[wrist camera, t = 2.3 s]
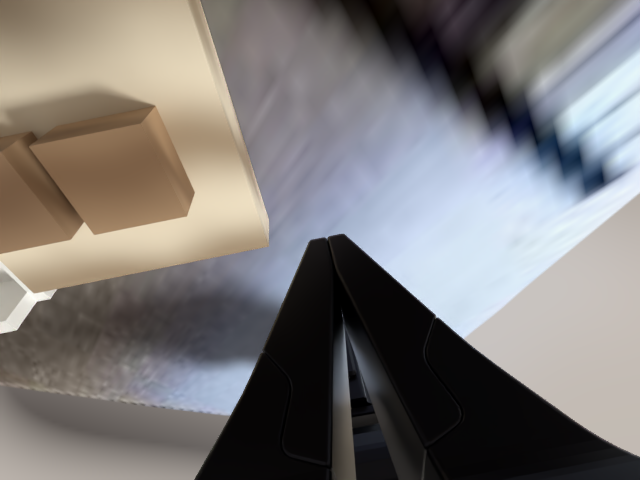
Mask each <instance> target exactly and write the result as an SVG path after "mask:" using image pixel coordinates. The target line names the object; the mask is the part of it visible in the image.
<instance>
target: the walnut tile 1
mask: <svg viewBox="0 0 640 480" xmlns="http://www.w3.org/2000/svg"><path fill="white" fill-rule="evenodd" d="M37 140H38V139H37V138H36V136H35V135H34V134H33V132H32V131H30V132H25V133H20V134H15V135H10V136H5V137H0V254H3V253H8V252H13V251H18V250H23V249H28V248H33V247H38V246H43V245H48V244H53V243H58V242H63V241H68V240H71V239H72V238H73V237H74V235H75V234H76V232H77V231H78V230H79V228H80V227H81V226H82V224H83V223H84V221H83V219H82V218H81V217H80V215H79V214H78V212H77V211H76V210H75V208H74V207H73V206H72V204H71V203H70V202H69V200H68V199H67V198H66V196H65V195H64V193H63V192H62V191H61V189H60V188H59V187H58V185H57V184H56V183H55V181H54V180H53V179H52V177H51V176H50V175H49V173H48V172H47V170H46V169H45V168H44V166H43V165H42V164H41V162H40V161H39V160H38V158H37V157H36V156H35V154H34V153H33V152H32V150H31V149H30V147H29V146H30V145H31V144H32V143H34V142H35V141H37Z"/></svg>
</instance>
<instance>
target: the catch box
mask: <svg viewBox="0 0 640 480" xmlns="http://www.w3.org/2000/svg"><path fill="white" fill-rule="evenodd" d="M56 290H57V289H55V290H50V291H45V292H40V293H35V294H34V293H33V292H32V291H31V290H30V289H29V288H28V287H27V286H26V285H24V284H23V283H22V282H21V281H20V280H19V279H18V278H17V277H16V276H15V275H14V274H13V273H12V272H11V271H10V270H9V269H8V268H7V267H6V266H5V265H4V264H3V263H2V262H1V261H0V334H1V333H6V332H11V331H16V330H17V329H18V328H19V326H20V325H21V323H22V322H23V321H24V319H25V318H26V316H27V315H28V313H29V312H30V311H31V309H32V308H33V306H34V305H35V304H36V302H37V301H42V300H47V299H51V297H52V296H53V294H54V293H55V291H56Z"/></svg>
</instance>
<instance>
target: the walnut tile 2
mask: <svg viewBox="0 0 640 480" xmlns="http://www.w3.org/2000/svg"><path fill="white" fill-rule="evenodd" d="M29 147H30V149H31V150H32V152H33V153H34V154H35V156H36V157H37V158H38V160H39V161H40V162H41V164H42V165H43V166H44V168H45V169H46V170H47V172H48V173H49V175H50V176H51V177H52V179H53V180H54V181H55V183H56V184H57V185H58V187H59V188H60V189H61V191H62V192H63V193H64V195H65V196H66V198H67V199H68V200H69V202H70V203H71V204H72V206H73V207H74V208H75V210H76V211H77V212H78V214H79V215H80V217H81V218H82V219H83V221H84V222H85V223H86V225H87V226H88V227H89V229H90V230H91V231H92V233H93V234H94V235H97V234H102V233H107V232H112V231H117V230H122V229H127V228H132V227H137V226H142V225H147V224H152V223H157V222H162V221H167V220H172V219H177V218H182V217H187V215H188V212H189V209H190V206H191V203H192V200H193V197H194V194H195V191H194V189H193V187H192V185H191V182H190V180H189V178H188V176H187V174H186V171H185V169H184V167H183V165H182V163H181V160H180V158H179V156H178V154H177V152H176V149H175V147H174V145H173V143H172V141H171V138H170V136H169V134H168V132H167V130H166V127H165V125H164V123H163V121H162V119H161V116H160V114H159V112H158V110H157V108H156V106H152V107H147V108H143V109H138V110H133V111H128V112H123V113H118V114H113V115H108V116H103V117H98V118H93V119H89V120H84V121H79V122H74V123H69V124H64V125H59V126H56V127H54V128H53V129H52V130H50V131H49V132H48V133H46V134H45V135H43V136H42V137H41V138H39V139H38V140H37V141H35V142H34V143H32V144H31V145H30V146H29Z"/></svg>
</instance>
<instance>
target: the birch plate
mask: <svg viewBox="0 0 640 480" xmlns="http://www.w3.org/2000/svg"><path fill="white" fill-rule="evenodd" d="M152 106H156V108H157V110H158V112H159V114H160V116H161V119H162V121H163V123H164V125H165V127H166V130H167V132H168V134H169V136H170V138H171V141H172V143H173V145H174V147H175V149H176V152H177V154H178V156H179V158H180V160H181V163H182V165H183V167H184V169H185V171H186V174H187V176H188V178H189V180H190V182H191V185H192V187H193V189H194V191H195V194H194V197H193V200H192V203H191V206H190V209H189V212H188V215H187V217H182V218H177V219H172V220H167V221H162V222H157V223H152V224H147V225H142V226H137V227H132V228H127V229H122V230H117V231H112V232H107V233H102V234H97V235H94V234H93V233H92V231H91V230H90V229H89V227H88V226H87V225H86V223H85V222H84V223H83V224H82V226H81V227H80V228H79V230H78V231H77V232H76V234H75V235H74V237H73V238H72V239H71V240H68V241H63V242H58V243H53V244H48V245H43V246H38V247H33V248H28V249H23V250H18V251H13V252H8V253H3V254H0V261H1V262H2V263H3V264H4V265H5V266H6V267H7V268H8V269H9V270H10V271H11V272H12V273H13V274H14V275H15V276H16V277H17V278H18V279H19V280H20V281H21V282H22V283H23V284H24V285H26V286H27V287H28V288H29V289H30V290H31V291H32V292H33V293H34V294H35V293H40V292H45V291H50V290H55V289H60V288H64V287H69V286H74V285H79V284H84V283H89V282H94V281H99V280H104V279H109V278H114V277H119V276H124V275H129V274H134V273H139V272H144V271H149V270H154V269H159V268H164V267H169V266H174V265H179V264H184V263H189V262H194V261H199V260H204V259H209V258H214V257H219V256H224V255H229V254H234V253H239V252H244V251H248V250H253V249H258V248H263V247H268V246H269V219H268V216H267V213H266V209H265V206H264V203H263V200H262V197H261V193H260V190H259V187H258V184H257V181H256V177H255V174H254V171H253V168H252V165H251V161H250V158H249V155H248V152H247V149H246V146H245V142H244V139H243V136H242V133H241V130H240V126H239V123H238V120H237V117H236V114H235V110H234V107H233V104H232V101H231V98H230V94H229V91H228V88H227V85H226V82H225V78H224V75H223V72H222V69H221V66H220V62H219V59H218V56H217V53H216V50H215V46H214V43H213V40H212V37H211V34H210V31H209V27H208V24H207V21H206V18H205V15H204V11H203V8H202V5H201V2H200V0H0V137H5V136H10V135H15V134H20V133H25V132H30V131H32V132H33V134H34V135H35V136H36V138H37V139H39V138H41V137H42V136H43V135H45V134H46V133H48V132H49V131H50V130H52V129H53V128H54V127H56V126H59V125H64V124H69V123H74V122H79V121H84V120H89V119H93V118H98V117H103V116H108V115H113V114H118V113H123V112H128V111H133V110H138V109H143V108H147V107H152Z"/></svg>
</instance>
